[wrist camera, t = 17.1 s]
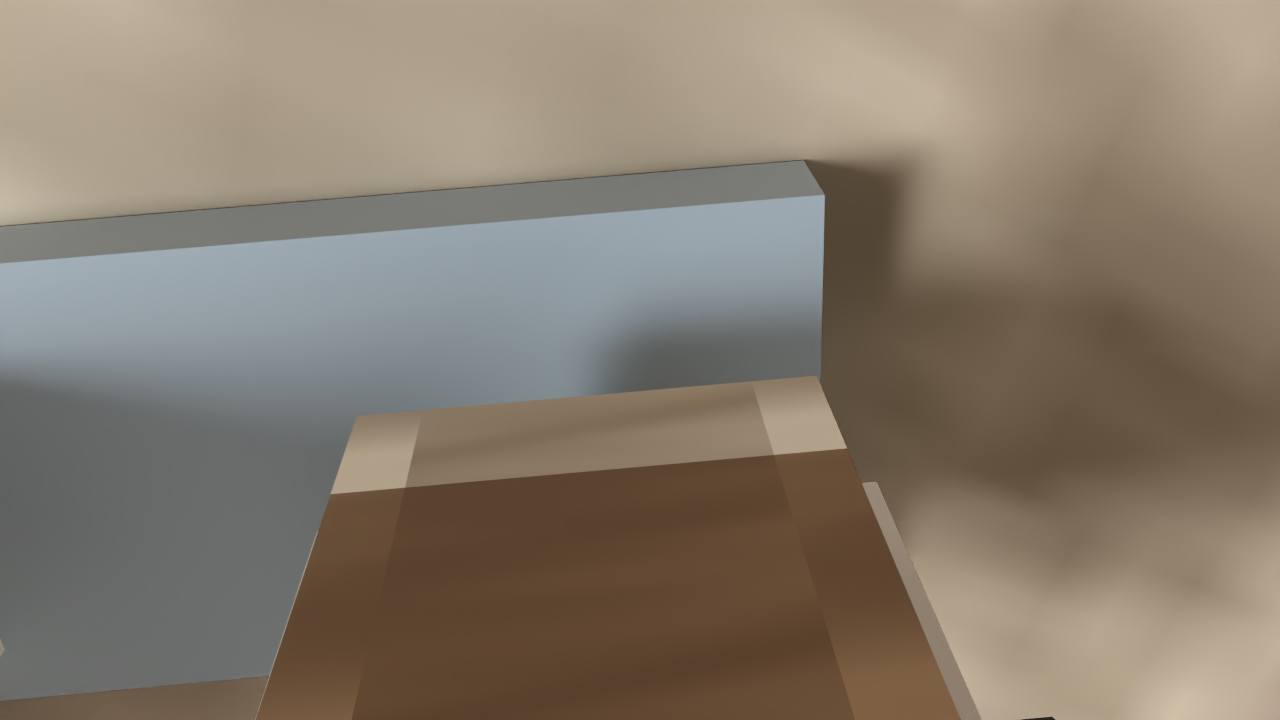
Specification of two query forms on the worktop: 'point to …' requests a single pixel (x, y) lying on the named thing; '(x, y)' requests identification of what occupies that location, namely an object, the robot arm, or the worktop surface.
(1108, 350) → the worktop surface
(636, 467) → the sleeve
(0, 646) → the sleeve
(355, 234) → the pin board
